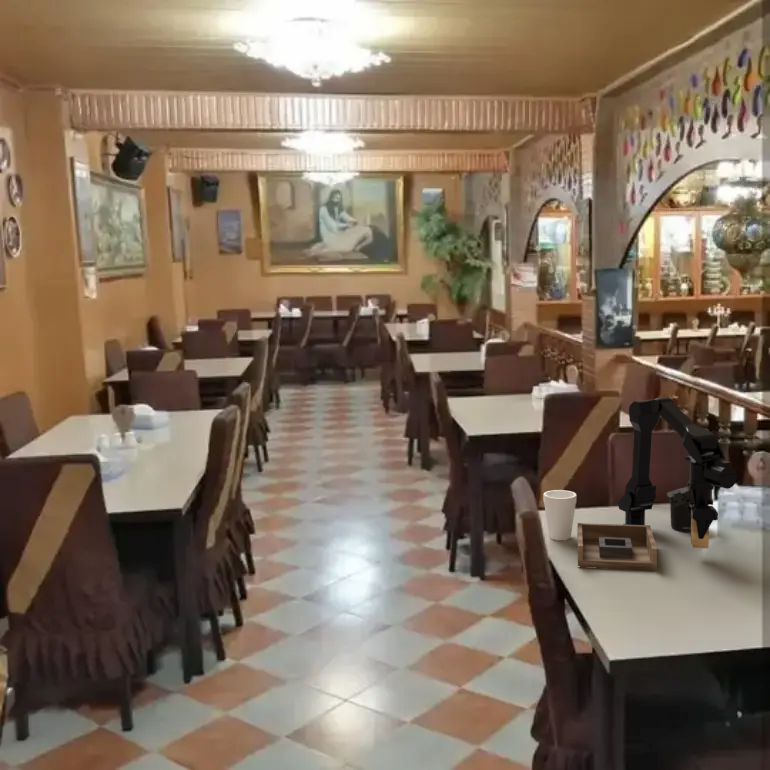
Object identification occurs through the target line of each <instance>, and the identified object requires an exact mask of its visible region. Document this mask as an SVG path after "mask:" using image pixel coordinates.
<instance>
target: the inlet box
mask: <svg viewBox="0 0 770 770" xmlns="http://www.w3.org/2000/svg"><path fill="white" fill-rule="evenodd" d="M654 537H655V536H654V534H653V530H652V528H651V525H648V524H647V525H646V524H645V525H623V524H620V523H619V524H615V523H614V524H613V523H611V524H610V523H586V522H585V523H582V522H581V523H580V522H577V538H576V539H577V540H576V541H577V543H576V544H578V545H577V567H578V566H580V567H596V568H595V569H601V568H608V569H607V570H624V569H634V570H633V571H647V570H651V571H650V572H652V570H653V572H657V569H658V568H657V566H658V565H657V562H658V560H657V559H658V555H657V553H658V548H657V544H656V541H655V538H654ZM611 568H612V569H611ZM654 570H655V571H654Z"/></svg>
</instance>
